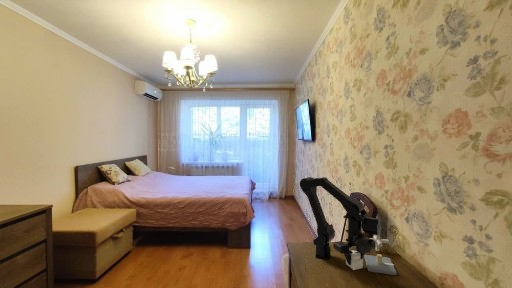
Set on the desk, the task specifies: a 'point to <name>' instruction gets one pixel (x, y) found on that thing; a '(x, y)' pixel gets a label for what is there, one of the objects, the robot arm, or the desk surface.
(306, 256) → the desk surface
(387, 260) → the panel
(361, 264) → the knob
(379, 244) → the pipe connector
